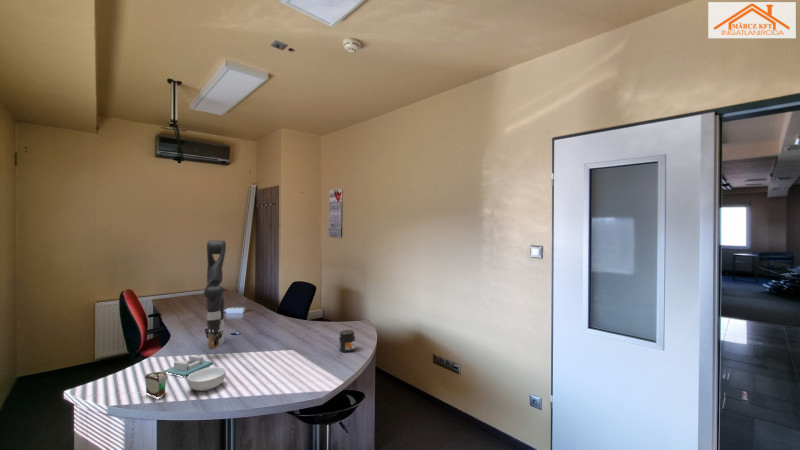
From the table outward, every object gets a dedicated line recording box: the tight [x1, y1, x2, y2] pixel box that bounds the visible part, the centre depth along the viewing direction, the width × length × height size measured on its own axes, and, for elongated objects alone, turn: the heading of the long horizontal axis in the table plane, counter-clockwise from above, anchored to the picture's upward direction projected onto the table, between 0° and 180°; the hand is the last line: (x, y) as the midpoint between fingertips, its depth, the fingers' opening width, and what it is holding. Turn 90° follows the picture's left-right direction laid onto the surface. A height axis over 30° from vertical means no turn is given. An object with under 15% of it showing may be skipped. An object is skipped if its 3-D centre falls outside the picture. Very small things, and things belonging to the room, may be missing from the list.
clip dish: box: [162, 354, 214, 378], centre depth 186 cm, size 16×18×6 cm
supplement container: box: [338, 329, 356, 354], centre depth 213 cm, size 10×10×12 cm
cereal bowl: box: [187, 366, 227, 392], centre depth 164 cm, size 17×17×7 cm
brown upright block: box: [208, 332, 220, 350], centre depth 203 cm, size 3×5×10 cm, turn 161°
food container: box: [144, 371, 169, 397], centre depth 157 cm, size 12×6×10 cm, turn 65°
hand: (214, 345), depth 203 cm, fingers closed on brown upright block, 3 cm apart
